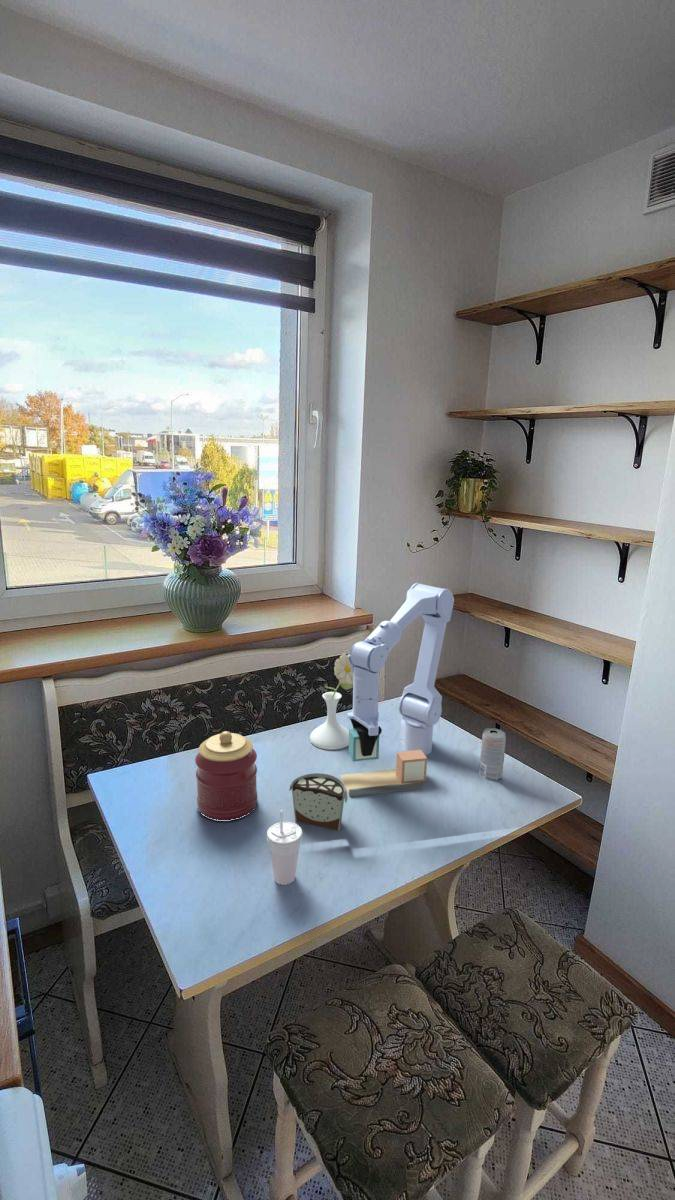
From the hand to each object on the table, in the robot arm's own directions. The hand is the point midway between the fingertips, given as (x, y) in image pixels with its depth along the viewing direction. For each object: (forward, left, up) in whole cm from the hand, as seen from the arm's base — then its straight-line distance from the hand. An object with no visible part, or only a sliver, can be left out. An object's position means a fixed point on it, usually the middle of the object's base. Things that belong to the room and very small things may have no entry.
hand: (363, 750), depth 138 cm
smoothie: (+27, -22, -10) cm, 36 cm away
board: (+1, +4, -9) cm, 10 cm away
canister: (+2, -31, -10) cm, 32 cm away
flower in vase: (-21, -2, -10) cm, 24 cm away
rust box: (+1, +11, -8) cm, 14 cm away
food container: (+12, -12, -10) cm, 19 cm away
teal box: (0, 0, -1) cm, 2 cm away
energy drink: (+3, +31, -10) cm, 33 cm away
